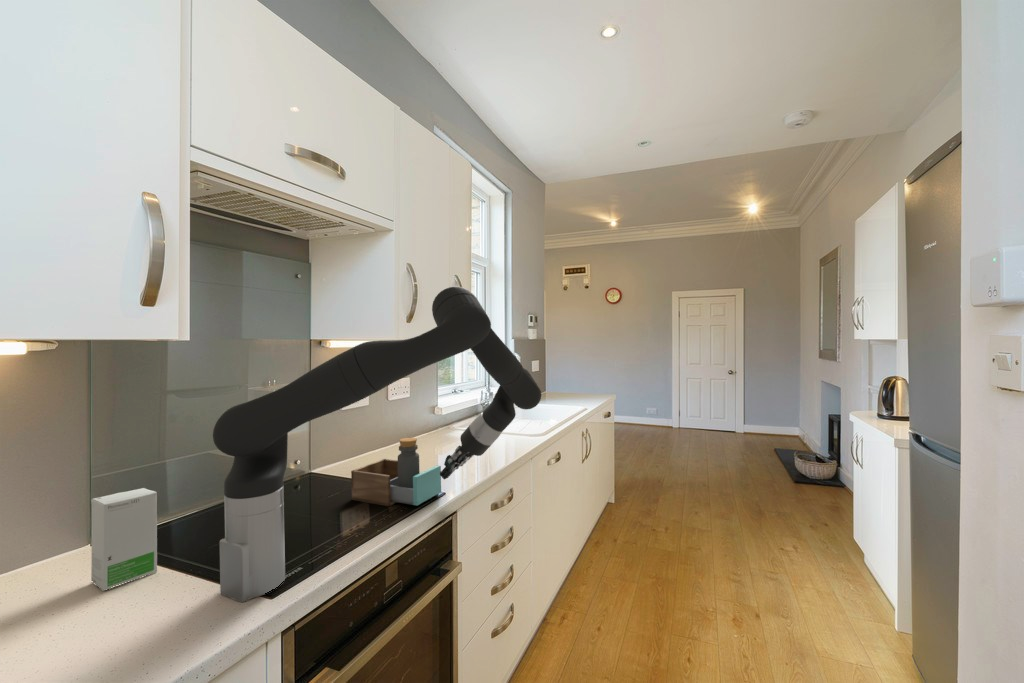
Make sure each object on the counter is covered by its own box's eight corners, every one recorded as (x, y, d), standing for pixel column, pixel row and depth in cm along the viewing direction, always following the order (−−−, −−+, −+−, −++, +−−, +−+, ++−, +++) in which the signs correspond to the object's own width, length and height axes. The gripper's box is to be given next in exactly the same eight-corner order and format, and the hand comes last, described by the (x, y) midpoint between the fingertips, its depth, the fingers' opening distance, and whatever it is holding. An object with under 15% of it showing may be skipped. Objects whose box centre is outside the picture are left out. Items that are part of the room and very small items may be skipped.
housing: (388, 506, 116) (388, 476, 116) (351, 499, 122) (351, 470, 122) (419, 490, 128) (419, 463, 128) (384, 484, 134) (384, 458, 134)
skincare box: (102, 593, 77) (101, 505, 77) (89, 583, 81) (88, 498, 81) (159, 571, 85) (158, 491, 85) (145, 563, 88) (144, 485, 88)
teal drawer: (417, 505, 114) (416, 477, 114) (380, 499, 119) (380, 471, 119) (441, 492, 124) (440, 465, 124) (406, 486, 129) (406, 461, 129)
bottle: (420, 495, 119) (419, 440, 119) (398, 498, 117) (397, 442, 117) (418, 488, 125) (417, 436, 125) (397, 491, 123) (396, 438, 123)
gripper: (478, 450, 105) (437, 495, 110) (503, 438, 117) (464, 479, 122) (459, 426, 107) (419, 472, 112) (485, 417, 119) (448, 459, 124)
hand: (443, 476), depth 117 cm, fingers closed
